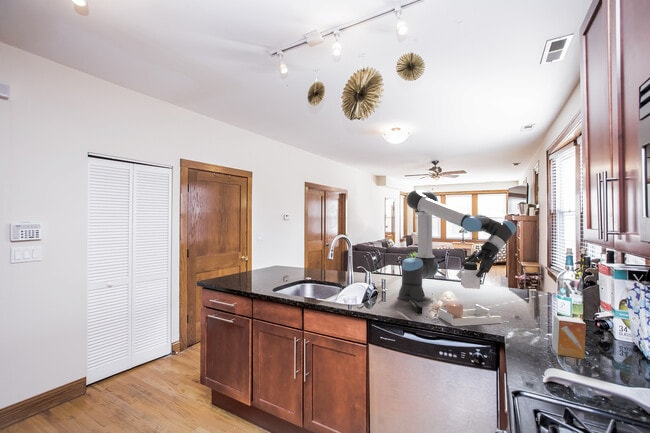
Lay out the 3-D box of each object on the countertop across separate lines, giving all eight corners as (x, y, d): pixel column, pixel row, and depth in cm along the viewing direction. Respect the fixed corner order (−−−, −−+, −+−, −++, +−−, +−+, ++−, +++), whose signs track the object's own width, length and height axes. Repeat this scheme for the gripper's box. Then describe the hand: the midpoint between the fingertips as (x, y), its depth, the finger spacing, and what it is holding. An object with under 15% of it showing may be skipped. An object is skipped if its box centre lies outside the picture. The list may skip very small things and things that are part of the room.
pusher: (474, 314, 151) (475, 304, 151) (482, 314, 152) (482, 304, 152) (487, 320, 142) (487, 310, 142) (495, 320, 143) (495, 309, 143)
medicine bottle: (480, 289, 147) (480, 264, 146) (464, 288, 148) (464, 263, 148) (475, 285, 154) (476, 261, 153) (460, 284, 155) (460, 261, 155)
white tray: (436, 317, 149) (436, 307, 149) (481, 314, 155) (481, 304, 155) (454, 328, 136) (454, 317, 135) (502, 324, 141) (503, 314, 141)
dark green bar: (423, 306, 151) (411, 297, 166) (417, 306, 151) (406, 297, 165) (423, 316, 151) (411, 306, 166) (417, 316, 151) (406, 306, 166)
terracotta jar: (443, 317, 146) (443, 303, 146) (456, 316, 148) (456, 302, 148) (452, 322, 139) (452, 307, 139) (465, 322, 141) (466, 307, 141)
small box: (557, 355, 112) (558, 320, 111) (551, 348, 118) (553, 314, 117) (584, 359, 109) (586, 323, 108) (577, 352, 115) (579, 317, 114)
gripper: (514, 254, 143) (485, 289, 140) (480, 249, 165) (454, 279, 161) (505, 243, 142) (476, 278, 139) (472, 239, 163) (446, 269, 160)
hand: (464, 279), depth 150 cm, fingers closed on medicine bottle, 9 cm apart
